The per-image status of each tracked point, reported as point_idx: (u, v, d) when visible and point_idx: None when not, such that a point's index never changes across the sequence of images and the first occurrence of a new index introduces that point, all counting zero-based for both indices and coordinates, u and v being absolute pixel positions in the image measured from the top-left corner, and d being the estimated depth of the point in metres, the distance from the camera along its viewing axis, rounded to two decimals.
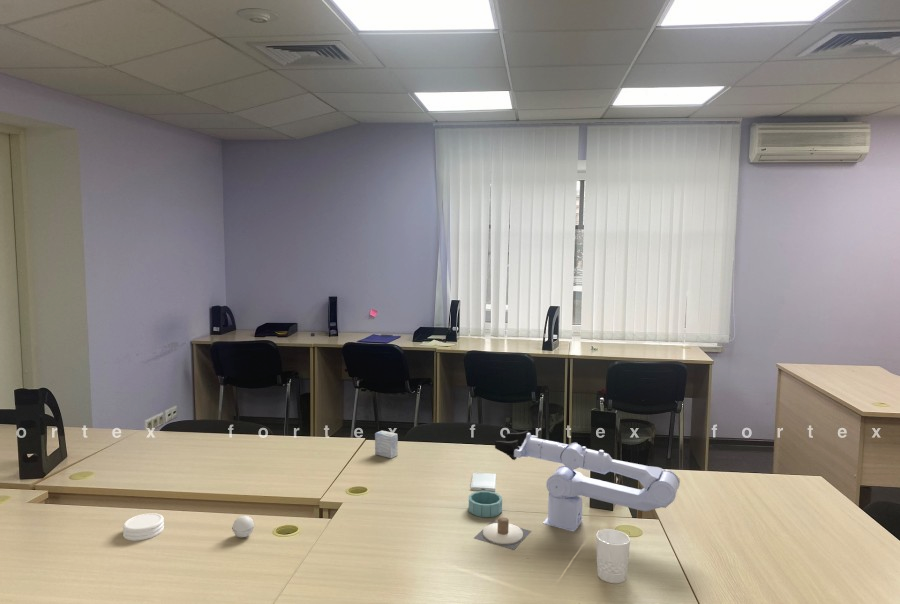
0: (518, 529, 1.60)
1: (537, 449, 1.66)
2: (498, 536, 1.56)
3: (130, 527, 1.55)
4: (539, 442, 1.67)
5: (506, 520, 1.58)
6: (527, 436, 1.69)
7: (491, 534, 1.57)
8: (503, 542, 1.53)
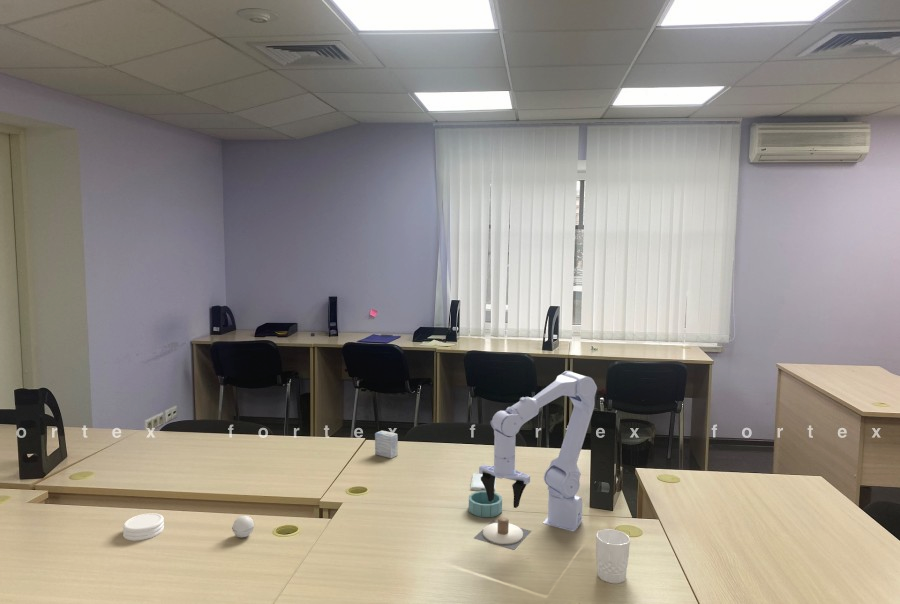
0: (518, 529, 1.60)
1: (512, 461, 1.55)
2: (498, 536, 1.56)
3: (130, 527, 1.55)
4: (505, 461, 1.54)
5: (506, 520, 1.58)
6: (502, 476, 1.54)
7: (491, 534, 1.57)
8: (503, 542, 1.53)
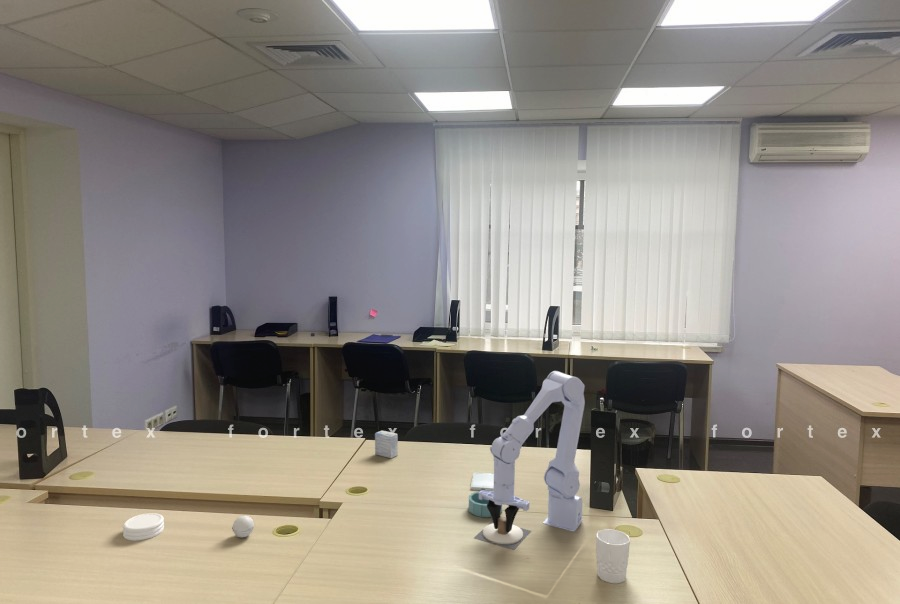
0: (518, 529, 1.60)
1: (511, 487, 1.56)
2: (498, 536, 1.56)
3: (130, 527, 1.55)
4: (504, 488, 1.55)
5: None
6: (501, 503, 1.54)
7: (491, 534, 1.57)
8: (503, 542, 1.53)
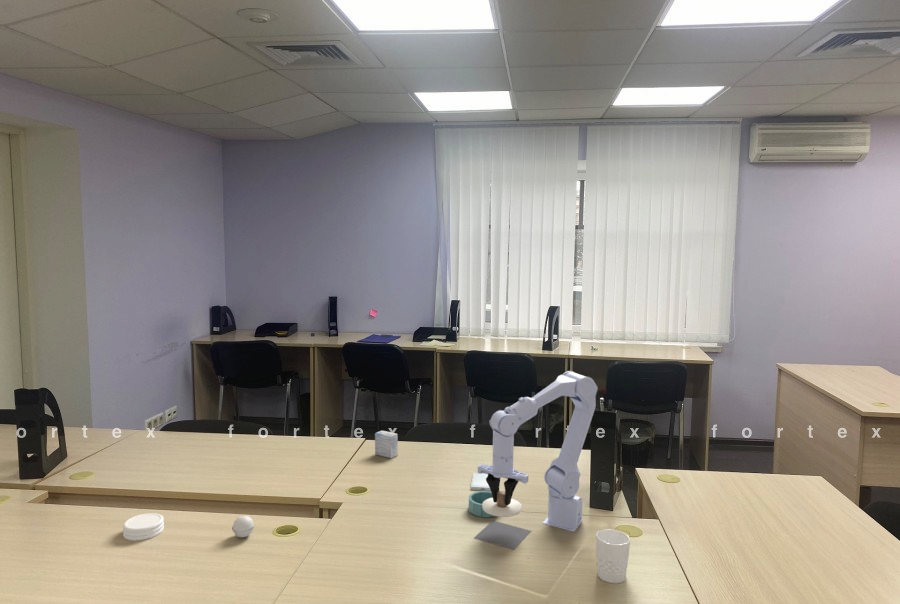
0: (517, 503, 1.61)
1: (510, 460, 1.56)
2: (498, 509, 1.57)
3: (130, 527, 1.55)
4: (503, 461, 1.55)
5: None
6: (500, 476, 1.55)
7: (490, 508, 1.58)
8: (502, 515, 1.54)
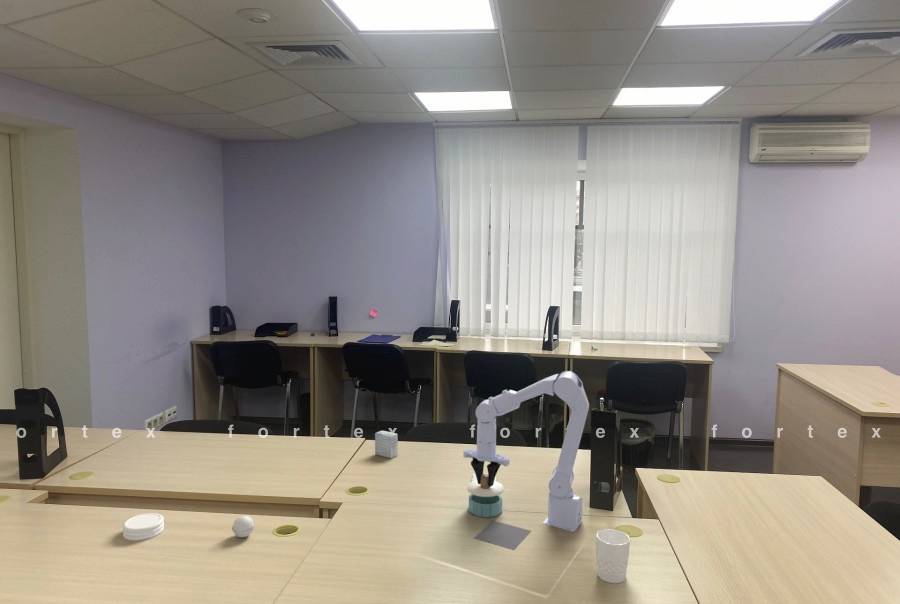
0: (500, 485, 1.75)
1: (493, 445, 1.70)
2: (481, 490, 1.70)
3: (130, 527, 1.55)
4: (486, 446, 1.69)
5: None
6: (484, 459, 1.69)
7: (475, 489, 1.71)
8: (485, 495, 1.68)
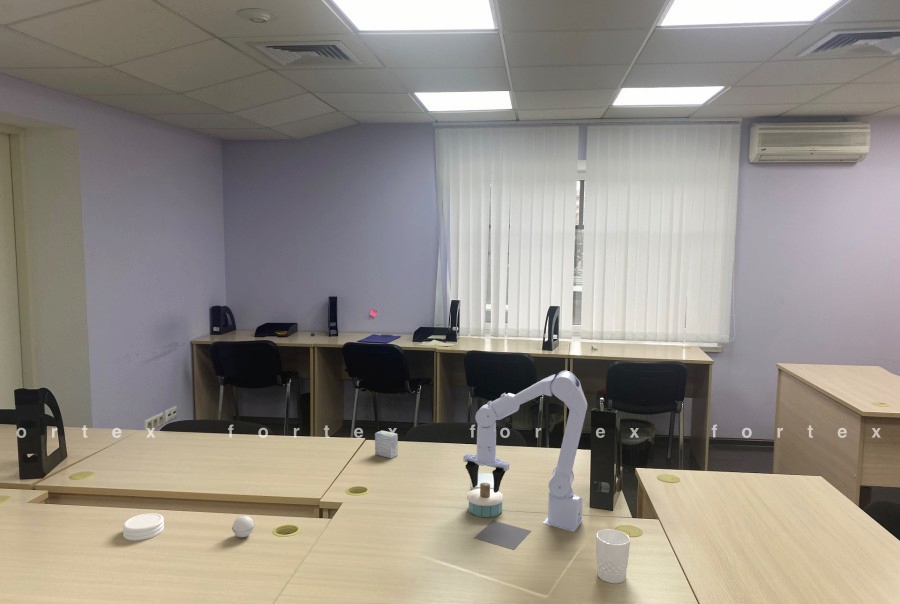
0: (499, 493, 1.75)
1: (493, 450, 1.70)
2: (481, 499, 1.71)
3: (130, 527, 1.55)
4: (486, 450, 1.69)
5: (488, 485, 1.73)
6: (483, 464, 1.69)
7: (474, 498, 1.72)
8: (485, 504, 1.68)
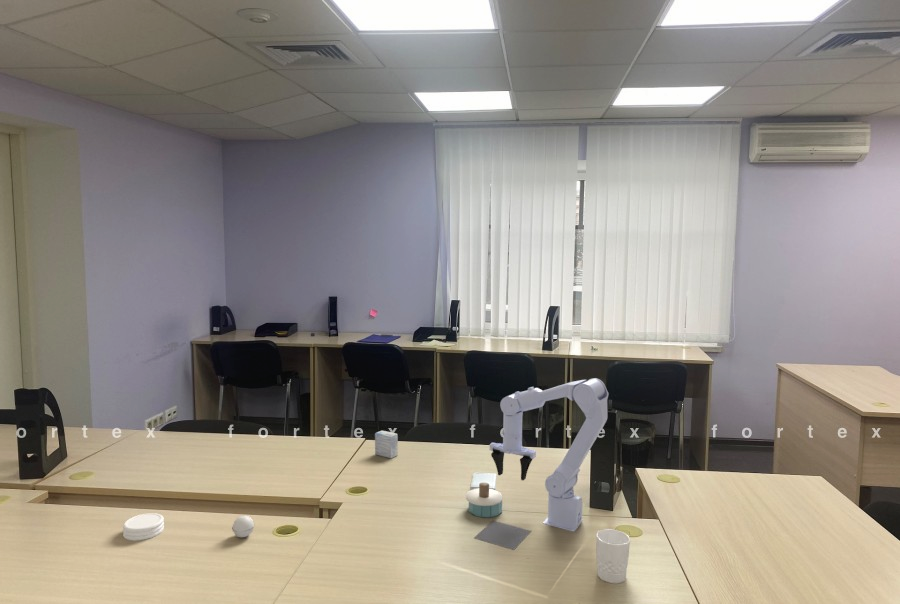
0: (498, 493, 1.75)
1: (519, 438, 1.73)
2: (480, 499, 1.71)
3: (130, 527, 1.55)
4: (513, 438, 1.72)
5: (487, 485, 1.73)
6: (510, 452, 1.72)
7: (473, 498, 1.72)
8: (484, 504, 1.68)
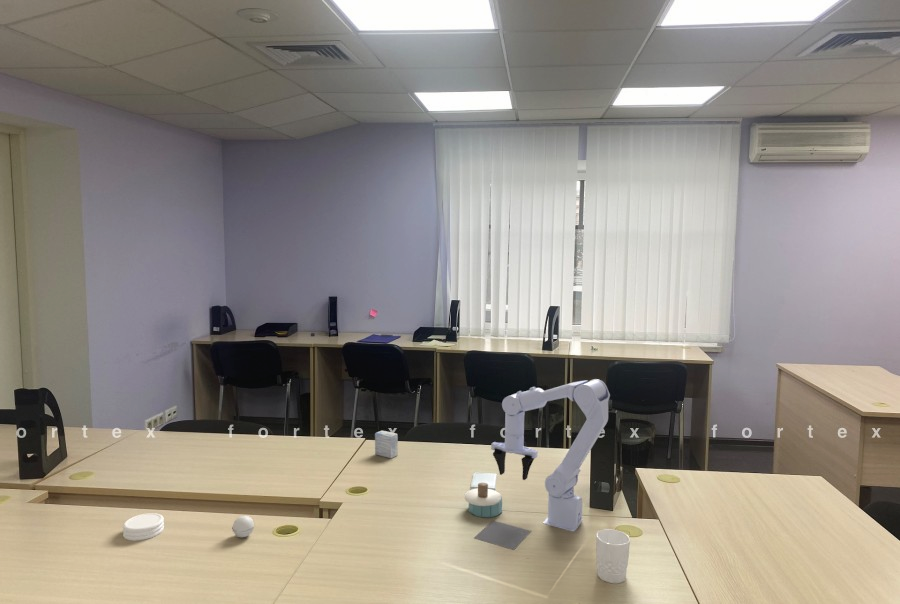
0: (497, 493, 1.75)
1: (521, 438, 1.73)
2: (478, 499, 1.70)
3: (130, 527, 1.55)
4: (515, 438, 1.72)
5: (485, 485, 1.73)
6: (512, 451, 1.72)
7: (472, 498, 1.71)
8: (483, 504, 1.68)
